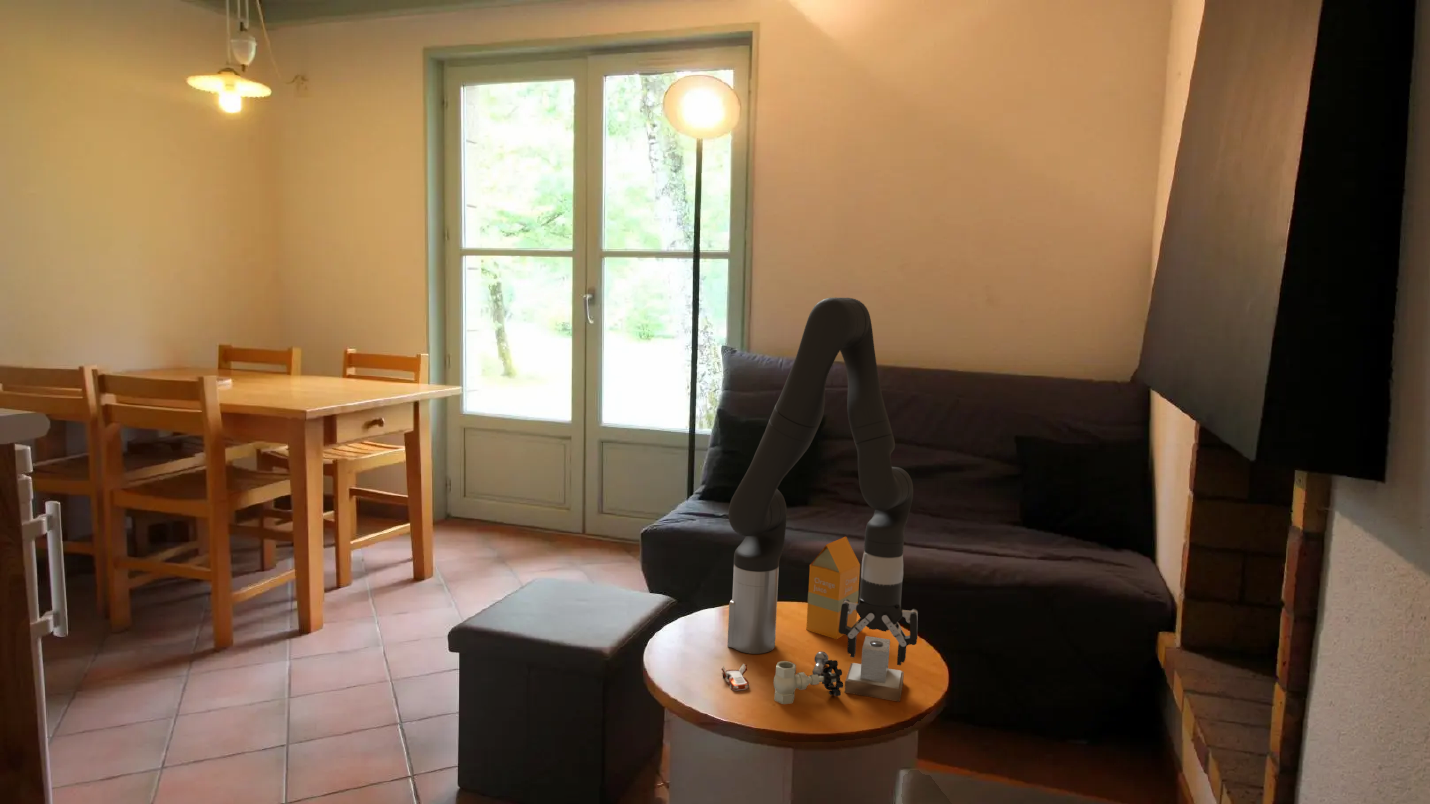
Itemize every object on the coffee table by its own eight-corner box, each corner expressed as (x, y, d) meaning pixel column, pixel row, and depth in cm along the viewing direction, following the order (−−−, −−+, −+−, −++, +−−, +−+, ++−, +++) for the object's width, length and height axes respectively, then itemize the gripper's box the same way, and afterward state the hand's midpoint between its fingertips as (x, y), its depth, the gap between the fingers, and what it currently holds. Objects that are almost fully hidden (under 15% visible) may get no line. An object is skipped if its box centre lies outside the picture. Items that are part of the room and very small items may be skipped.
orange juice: (856, 627, 187) (862, 539, 184) (836, 639, 180) (842, 548, 177) (826, 618, 191) (831, 532, 189) (805, 629, 184) (810, 540, 182)
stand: (844, 692, 156) (845, 679, 156) (850, 673, 164) (851, 661, 163) (899, 701, 153) (900, 688, 153) (903, 682, 161) (904, 670, 160)
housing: (860, 679, 156) (862, 647, 155) (863, 665, 162) (865, 635, 161) (885, 683, 155) (887, 651, 154) (887, 669, 160) (890, 638, 160)
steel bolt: (823, 677, 162) (823, 664, 161) (809, 675, 162) (810, 662, 162) (828, 664, 167) (828, 652, 167) (815, 662, 168) (815, 650, 168)
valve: (779, 709, 149) (842, 703, 152) (781, 674, 148) (844, 668, 151) (767, 692, 155) (827, 686, 158) (768, 658, 154) (829, 652, 157)
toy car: (741, 672, 163) (742, 656, 163) (754, 691, 156) (755, 675, 155) (715, 674, 162) (716, 659, 161) (727, 694, 154) (728, 678, 154)
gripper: (840, 577, 154) (834, 661, 156) (920, 587, 150) (913, 674, 152) (845, 564, 161) (840, 645, 163) (922, 574, 157) (916, 657, 159)
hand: (875, 659), depth 158 cm, fingers open, 8 cm apart
